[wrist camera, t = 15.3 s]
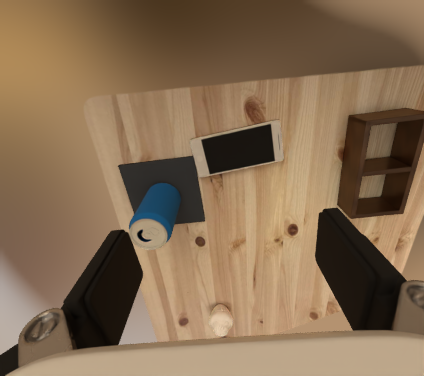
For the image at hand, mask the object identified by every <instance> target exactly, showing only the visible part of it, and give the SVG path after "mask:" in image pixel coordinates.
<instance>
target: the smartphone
mask: <svg viewBox="0 0 424 376" xmlns="http://www.w3.org/2000/svg"><path fill="white" fill-rule="evenodd" d="M190 146H191V150H192V153H193V157H194V160H195V164H196V168H197V171H198V175H199V177H206V176H211V175H216V174H221V173H225V172H230V171H235V170H240V169H245V168H250V167H255V166H260V165H264V164H269V163H274V162H279V161H282V160H284V155H283V144H282V134H281V123H280V121H279V120H273V121H269V122H264V123H260V124H255V125H251V126H247V127H242V128H238V129H233V130H229V131H225V132H220V133H216V134H211V135H207V136H203V137H198V138H194V139H191V140H190Z"/></svg>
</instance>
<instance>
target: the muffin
mask: <svg viewBox="0 0 424 376" xmlns="http://www.w3.org/2000/svg"><path fill="white" fill-rule="evenodd" d="M209 325H210V327H211V328H212V329H213V330H214V333H215V334H216V335H217V336H219V337H220V336H221V337H222V336H226V335H227V334H228V330H229V329H230V328H231V327H232V325H233V318H232V316H231V313H230V312H229V310H228V309H227V307H226V306H225V305H223V304H219V305H216V306H215V307H214V309H213V311H212V312H211V314H210V317H209Z"/></svg>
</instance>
